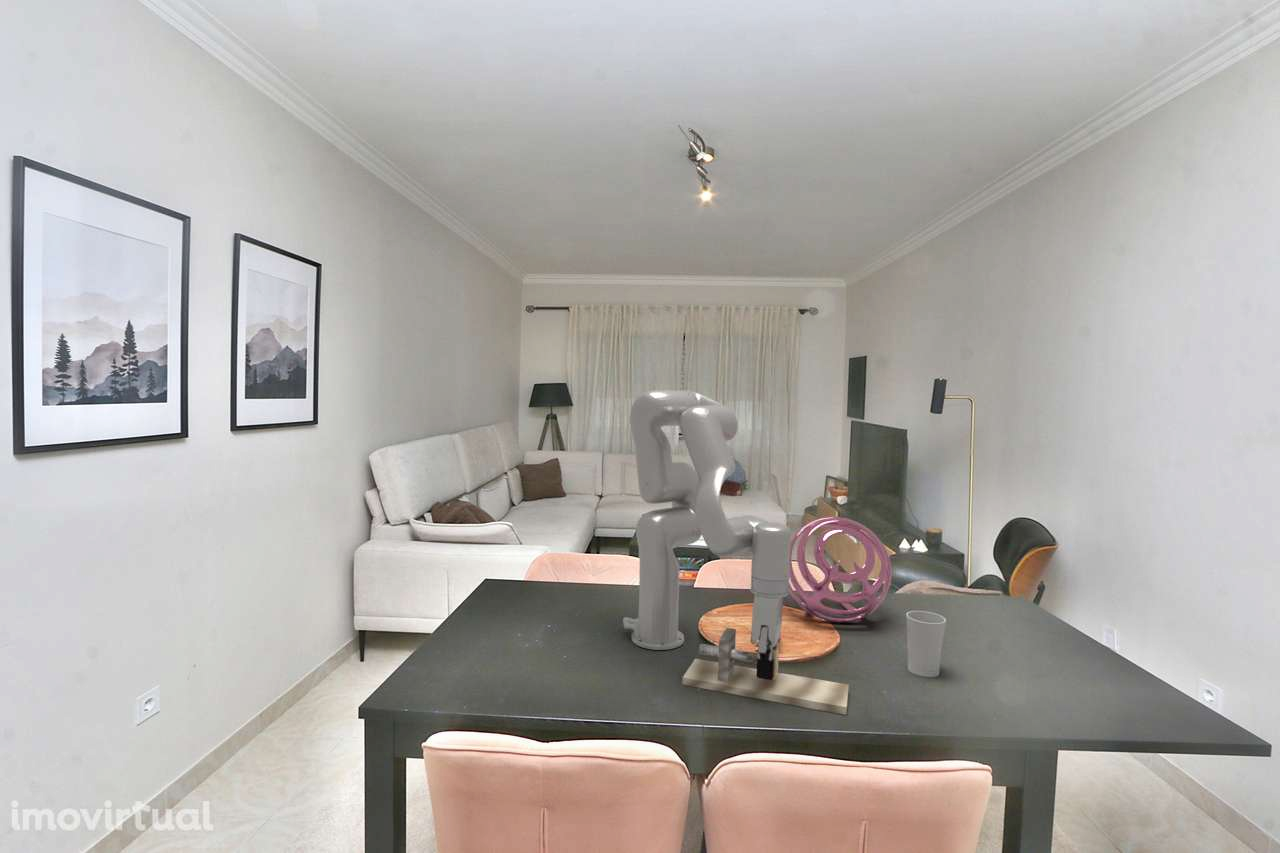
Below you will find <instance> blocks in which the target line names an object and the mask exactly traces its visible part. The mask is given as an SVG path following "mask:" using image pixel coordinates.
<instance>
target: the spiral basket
mask: <svg viewBox="0 0 1280 853" xmlns="http://www.w3.org/2000/svg"><path fill="white" fill-rule="evenodd" d="M827 527H828V529H826V530H825V531H823V532H822V533H821V534H820V535H819V536H818V537H817V539H816V541H815V545H814V549H813V555H814V560H815V563H816V565H817V567H818V568H819V569H820V571H821V572H822V573H823V574H824V578H823V580H822V581H818V580H817V579H816V578H815V577H814V576H813V575H812V573H811V571H810V570H809V566H808V565H807V562H806V555H805V554H806V546H807V544H808V543H807V542H808V541H809V539H810V537H811V535H813V533H814V532H815V531H816V530H818V529H819V528H827ZM840 534H842V535H843V534H845V535H849V536H852V537H854V538H856V539H857V540H858V541H859V542H860V543H861V544H862V545H863V547H864V550H865V554H866V559H865V562H864V564H863V566H862V567H860V566H859V565H858V564H857V563H856V561H854V560H852V564H853V567H854V570H855V571H854V572H848V573H847V572H843V571H842V572H841V571H839V567H840V564H841V560H838V561H837V562H836V563H835V564H834V565H833V566H831V564H830V563H829V562H828V560H827V559H826V557H825V546H826V544H827V542H828V541H829V539H830V538H832V537H833V536H836V535H840ZM799 538H800V539H799ZM798 539H799V542H798V545H797V548H796V550H797V551H796V559H797V560H796V561H797V566H798V569H799V571H800V573H801V576H802V578H803V579H804V580H805V581H804V582H806V583H807V585H808V586H809V587H810V588H811V590H812V591H813V594H812V595H809V594H808V593H807V592H806V591H805V589H803V587H802V585H800V583H799V581H798V580H797V577H796V576H795V573H794V569H793V564H792V563H793V562H792V556H793V549H794V546H795V543H796V542H797V540H798ZM875 553H876V555H877V557H878V559H879V561H880V564H881V565H880V570H879V574H878V577H877V578H876V580H875V581H874V583H873V584H870V582H869V580H868V578H869V575H870V574H871V573H872V571H873V570H874V567H875V562H876V555H875ZM892 571H893V570H892V562H891V559H890V556H889V553H888V551H887V549H886V547H885V545H884V544H883V542H882V540H880V538H879V537H878V536H877V535H876V534H875V533H874V532H873V531H872V530H871V529H870V528H867V527H866V526H865V525H863V524H862V523H859V522H858V521H855V520H853V519H850V518H845V517H842V516H827V517H820V518H817V519H813V520H811V521H809V522H808V523H806V524H805V525H803V526H802V527H801V528H799V529H798V530H797V532H796V533H795V534H794V536H792V538H791V542H790V569H789V594H790V595H791V597H792V598H793V599H794V601H795V602H796V603H797V604H798V605H799V606H800V607H801V608H802V609H803V610H804V611H805V612H806V613H807V614H808V615H811V616H814V617H816V618H818V619H820V618H821V620H823V619H824V620H823V621H826V622H829V623H830V622H831V623H837V624H838V623H839V624H843V623H845V624H847V623H852V622H857V621H860V620H863V619H864V618H867V617H869V616H870V615H871V614H873V613H874V612H875V611H876V610H877V609H879V607H880V606H881V604H882V603H883V601H884V600H885V597H886V596H887V593H888V591H889V588H890V587H891V582H892ZM833 581H834V582H837V583H840V584H841V583H842V584H856V583H861V585H862V590H861V591H859V592H856V593H855V592H854V593H841V592H837V591H834V590H831V589H830V584H831V583H832V582H833ZM882 586H883V587H882ZM881 587H882V588H883V589H882V591H881V593H880V594H879V596H877V597H876V593H877V592H879V590H880V588H881ZM793 588H794V589H793ZM794 590H795V591H796V592H797V594H798V595H799V596H800V597H801V598H802V599H803V601H804V602H805V603H804V602H803V601H802V600H801V599H800V598H799V597H798V595H797V594H796V592H795V591H794ZM875 597H876V598H875ZM823 599H827V600H829V601H833V602H837V603H840V604H841V605H842V606H843V607H844V608H845V609H837V608H833V607H829V606H828V605H827V606H826V605H824V604H823V603H822V602H821V601H822V600H823ZM862 601H865V602H866V604H865V605H864V606H863V607H859V608H856V607H855V606H852V605H851V603H853V604H854V603H858V602H862ZM817 611H819V612H822V613H824V614H827V615H823V614H821V613H819V612H817ZM828 615H831V616H836V617H842V618H835V617H831V616H828ZM843 617H845V618H843ZM846 617H847V618H846Z"/></svg>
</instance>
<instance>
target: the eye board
mask: <svg viewBox="0 0 1280 853" xmlns="http://www.w3.org/2000/svg"><path fill="white" fill-rule="evenodd" d="M736 635H737V629H736V628H732V627H725V629H724V631H723V632H722V634H721V636H720V637H719V639H718V647H719V656H718V660H717V661H712V660H705V659H701V658H695V659H694V660H693V662H692V663H691V665H690V666H689V667H688V668H687V670H686V672H685V673H684V675H683V676H682V682H681V683H682V685H683V686H687V687H688V686H689V687H693V688H698V689H705V690H710V691H715V692H720V693H726V694H732V695H736V696H742V697H747V698H752V699H758V700H764V701H769V702H775V703H780V704H785V705H790V706H795V707H801V708H805V709H806V708H807V709H811V710H816V711H822V712H827V713H834V714H839V715H844V716H847V710H848V700H849V699H848V698H849V687H850V685H849V684H848V683H841V682H834V681H829V680H823V679H817V678H814V677H813V678H811V677H806V676H800V675H795V674H788V673H783V672H782V673H781V672H778V673H777V676H776V679H775V680H773V679H772V680H767V679H761V678H758V677H757V668H753V667H747V666H741V665H736V660H735V659H730V649H736Z"/></svg>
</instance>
